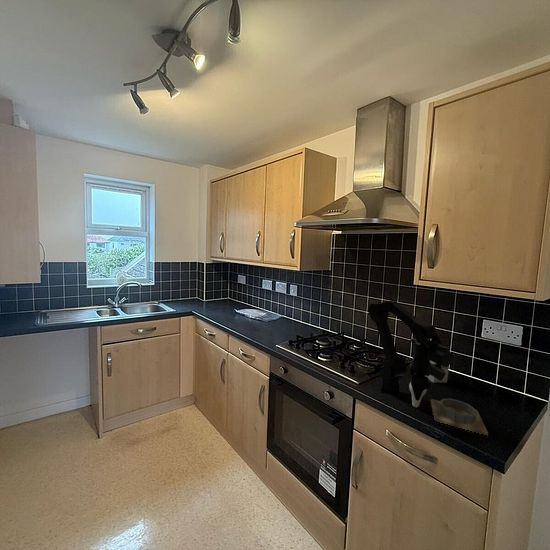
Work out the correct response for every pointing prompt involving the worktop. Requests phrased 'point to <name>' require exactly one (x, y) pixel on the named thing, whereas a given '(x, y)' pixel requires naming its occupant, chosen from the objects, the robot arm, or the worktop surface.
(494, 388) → the worktop surface
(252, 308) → the worktop surface
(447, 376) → the supplement box
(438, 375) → the robot arm
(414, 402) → the lightbulb
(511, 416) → the worktop surface
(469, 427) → the socket board
